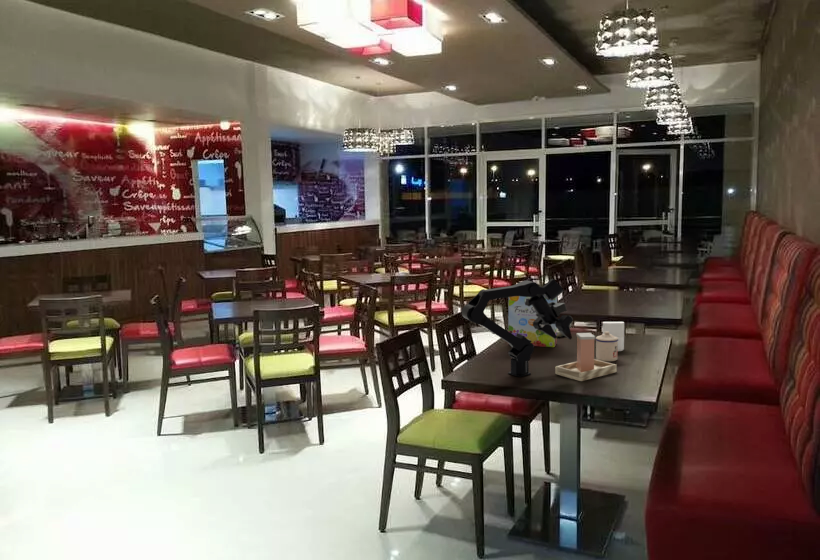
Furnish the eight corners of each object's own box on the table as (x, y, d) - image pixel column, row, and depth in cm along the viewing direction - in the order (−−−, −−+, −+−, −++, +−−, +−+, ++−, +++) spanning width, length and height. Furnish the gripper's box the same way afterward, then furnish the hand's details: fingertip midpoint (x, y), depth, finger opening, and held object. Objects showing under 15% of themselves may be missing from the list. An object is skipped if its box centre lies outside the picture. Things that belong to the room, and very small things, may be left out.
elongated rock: (575, 327, 353) (556, 327, 357) (575, 317, 353) (556, 317, 356) (566, 337, 321) (545, 337, 324) (566, 326, 320) (545, 327, 324)
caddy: (580, 372, 257) (580, 337, 255) (576, 367, 264) (576, 333, 262) (594, 372, 257) (595, 336, 255) (590, 367, 264) (590, 332, 262)
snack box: (507, 345, 310) (507, 290, 306) (510, 341, 318) (510, 287, 314) (555, 347, 303) (555, 291, 299) (557, 343, 311) (557, 288, 308)
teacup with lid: (617, 362, 275) (618, 334, 274) (594, 361, 278) (595, 333, 276) (618, 355, 287) (618, 328, 285) (596, 354, 289) (596, 327, 288)
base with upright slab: (621, 346, 302) (621, 320, 300) (625, 351, 293) (626, 324, 291) (601, 346, 303) (601, 320, 301) (604, 351, 294) (605, 324, 292)
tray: (581, 381, 250) (581, 373, 250) (555, 373, 261) (555, 366, 260) (616, 372, 261) (616, 364, 261) (590, 365, 272) (590, 358, 271)
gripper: (570, 294, 255) (591, 325, 259) (540, 295, 272) (560, 324, 276) (552, 313, 251) (574, 344, 255) (523, 313, 268) (543, 342, 272)
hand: (563, 338), depth 265 cm, fingers open, 9 cm apart
